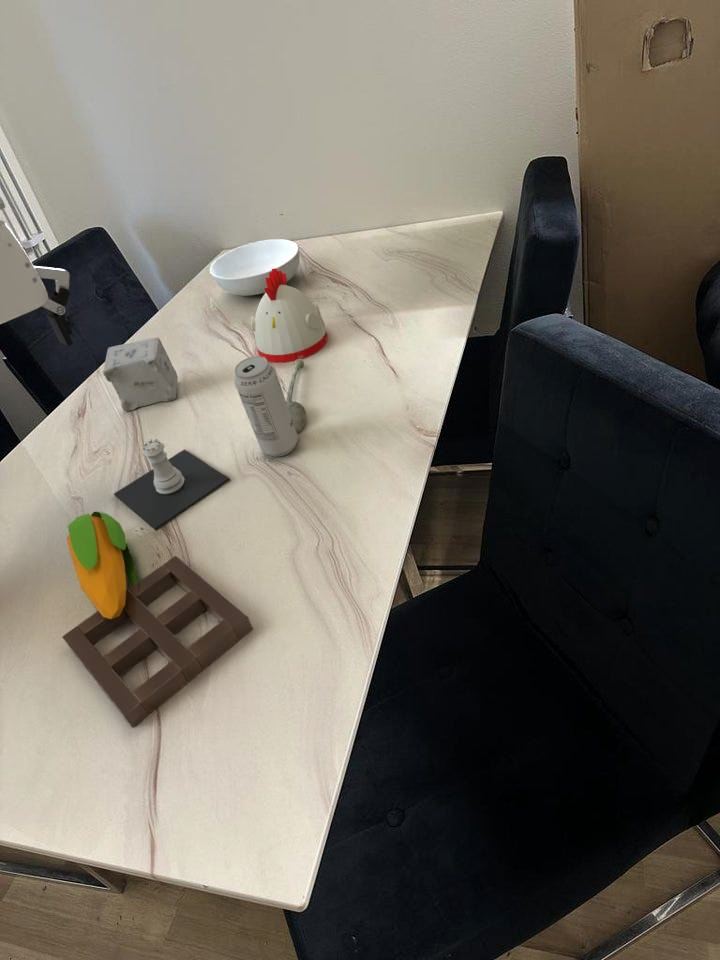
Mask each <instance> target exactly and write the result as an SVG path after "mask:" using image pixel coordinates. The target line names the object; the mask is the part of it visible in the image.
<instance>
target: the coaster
mask: <svg viewBox="0 0 720 960" xmlns="http://www.w3.org/2000/svg"><path fill="white" fill-rule="evenodd" d="M167 459H168V460H169V462H170V463H171V465H172V466H173V467H175V468H176V469H177V470H179V471H180V472H181V474H182V476H183V477H184V479H185V480H184V484H183V486H182V487H181V489H179V490H178V491H177V492H175V493H172V494H167V495H165V494H161V493H159V492H157V491H156V487H155V486H154V482H153V481H154V470H153V468H152V469H151V470H149V471H147V472H146V473H144V474H143V475H141V476H139V477H138V478H136V479H135V480H133V481H132V482H130V483H128V484H127V485H125V486H124V487H122V488H121V489H119V490H117V491H115V492H114V493H113V495H114V497H116V498H117V499H118V500H119V501H121V502H122V504H124V505H125V506H126V507H127V508H129V509H130V510H131V511H132V512H133V513H135V514H136V515H137V516H139V517H140V518H141V520H143V521H144V522H146V523H147V524H148V525H149V526H150V527H152V529H154V530H155V531H157V530H159V529H160V528H162V527H164V526H165V525H166V524H167V523H169V522H170V521H172V520H174V519H175V518H177V517H178V516H179V515H181V514H182V513H184V512H185V511H187V510H188V509H190V508H191V507H193V506H194V505H195V504H197V503H198V502H200V501H201V500H204V498H206V497H208V496H209V495H210V494H211V493H213V492H215V491H216V490H217V489H219V488H221V487H222V486H223V485H225V484H226V483H229V481H230V480H231V479H230V477H229V476H227V475H225V474H223V472H221V471H220V470H217V469H216V468H215V467H213V466H211V465H210V464H208V463H206V462H205V461H203V460H202V459H201V458H199V457H197V456H195V455H194V454H192V452H189V451H188V450H187V449H182V450H181V451H180V452H178V453H176V454H174V455H173V456H171V457H170V458H167Z"/></svg>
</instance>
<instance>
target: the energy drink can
mask: <svg viewBox="0 0 720 960" xmlns="http://www.w3.org/2000/svg"><path fill="white" fill-rule="evenodd" d="M234 373H235V375H234V379H233V380H234V386H235V388H236V391H237V393H238V396H239V398H240V401H241V404H242V406H243V408H244V411H245V414H246V416H247V419H248V420H249V423H250V426H251V429H252V432H253V433H254V436H255V438H256V440H257V441H256V442H257V443H258V445H259V448H260V450H261V451H262V452H263V453H265V454H266V455H268V456H270V457H274V458H279V457H283V456H286V455H288V454H290V453H291V452H292V451H294V449H295V448H296V446H297V442H298V439H299V436H298V433H297V432H296V429H295V426H294V423H293V420H292V418H291V415H290V412H289V409H288V406H287V403H286V400H287V399H286V397H285V394H284V391H283V388H282V386H281V383H280V380H279V377H278V374H277V371H276V368H275V367H274V366H273V365H272V364H270V363H269V362H268V361H267V359H266V358H264V357H260V356H259V355H258V356H257V355H255V356H250V357H246V358H244V359H242V360H241V361H239V363H237V364H236V366H235V367H234Z"/></svg>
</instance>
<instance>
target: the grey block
mask: <svg viewBox="0 0 720 960" xmlns="http://www.w3.org/2000/svg"><path fill="white" fill-rule="evenodd" d="M102 374H103V376H104V378H105V379H106V381H107V382H109V383H111V384H112V386H113V388H114V390H115V392H116V394H117V396H118V399H119V400H120V406H121V408H122V410H123V412H125V413H126V412H127V413H128V412H131V411H134V410H136V409H138V408H140V407H145V406H151V405H153V404H157V403H160V402H166V403H167V402H170V401H174V400H175V399H177V389H178V379H179V376H178V373H177V370H176V369H175V366H174V365H173V363H172V361H171V359H170V357H169V355H168V353H167V351H166V349H165V347H164V344H163V343H162V340H161V339H160V337H158V336H157V337H152V338H147V339H142V340H137V341H134V342H130V343H124V344H118V345H113V346H109V347H108V348H107V352H106V357H105V362H104V366H103V372H102Z"/></svg>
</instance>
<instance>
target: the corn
mask: <svg viewBox="0 0 720 960" xmlns="http://www.w3.org/2000/svg"><path fill="white" fill-rule="evenodd" d="M67 528H68V534H67V537H66V541H67V546H68V550H69V552H70V553H69V554H70V556H71V560H72V562H73V566H74V570H75V573H76V576H77V579H78V582H79V586H80V589H81V591H82V592H83V593H84V594H85V596H86V597H87V598H88V600H89V601H90V602H91V604H92V605H93V607H95V608H96V610H97V611H99V612H100V614H101V615H102V616H103V617H105V618H109V619H112V618H115V617H118V616H120V614H121V612H122V610H123V608H124V606H125V599H126V591H127V581H128V584H129V588H131V587H132V586H134V585H135V584H137V583H138V582H139V578H138V572H137V569H136V566H135V562H134V561H135V560H134V558H133V555H132V553H131V550H130V548H129V545H128V543H127V539H126V533H125V532H124V530H123V528H122V525H121V523H120V522H118V521H117V520H116V519H115V518H114V517H113V516H111V515H109V514H108V513H106V512H102V511H93V512H92V513H90V512H88V513H84V514H82V515H79V516H78V517H76V518H75V519H73V520H72V521H71V522H70V523H68V524H67ZM138 590H139V589H138Z"/></svg>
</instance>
